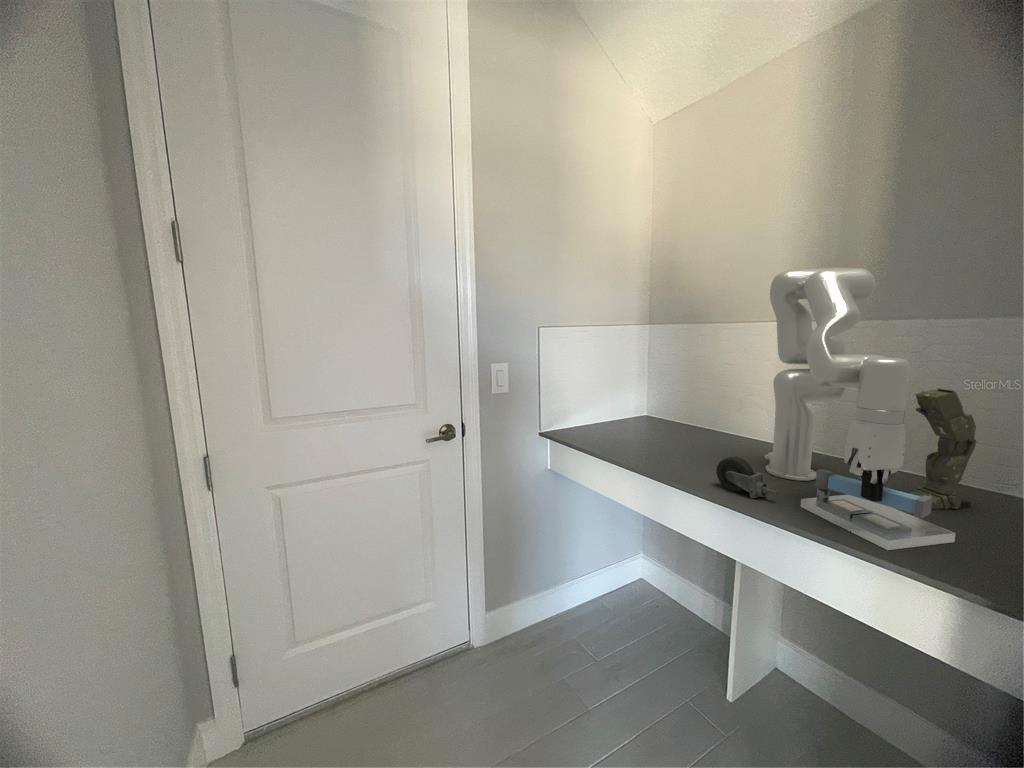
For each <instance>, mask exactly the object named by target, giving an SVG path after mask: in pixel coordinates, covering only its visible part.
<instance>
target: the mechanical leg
mask: <svg viewBox="0 0 1024 768" xmlns="http://www.w3.org/2000/svg"><path fill="white" fill-rule="evenodd" d="M915 397H916V400H917V401H916V402H917V405H918V406H919V407H917V408H915V411H916V412H917V413H918V414H919V413H920V414H921V415H923V417H925V418H926V420H927V421H928V423H929V425H930V427H931V429H932V431H933V433H934V434H935V435H936V436H937V437H938V440H937V451H935V452H930V453H929V454H928V455H927V456H926V459H925V479H924V481H923V482H922V483H921V486H918V487H917V488H916V490H914V491H911V492H909V494H913V495H917V496H920V497H922V496H924V495H926V496H930V497H933V499H932V507H931V510H941V509H943V510H944V509H945V510H946V509H947V510H949V509H953V510H959V508H960V509H968V508H967V507H969V508H972V505H971V502H970V501H967V500H964V499H962V498H959V497H958V496H957V495H958V485H959V483H960V482H961V480H962V478H963V475H964V473H965V470H966V468H967V466H968V463H969V461H970V458H971V456H972V454H973V452H974V450H975V447H976V444H977V439H975V435H976V430H977V425H976V423H975V419H974V417H973V415H972V414H969V413H966V412H965V411H964V410H963V408H964V407H963V405H962V403H961V400H960V398H959V395H958V393H957V391H955V390H953V389H947V388H941V387H940V388H938V387H937V388H936V389H930V390H925V391H924V390H923V391H921V392H919V393H915Z"/></svg>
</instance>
